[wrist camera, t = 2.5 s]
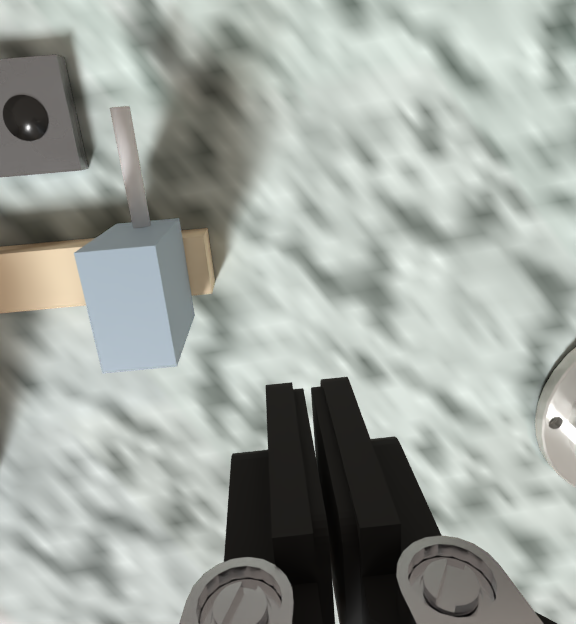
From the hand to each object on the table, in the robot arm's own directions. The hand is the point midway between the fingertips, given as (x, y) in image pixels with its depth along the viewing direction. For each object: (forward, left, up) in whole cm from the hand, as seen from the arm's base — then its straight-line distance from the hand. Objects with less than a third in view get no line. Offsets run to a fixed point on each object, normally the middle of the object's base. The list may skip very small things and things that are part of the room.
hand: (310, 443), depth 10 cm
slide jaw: (+6, -2, -15) cm, 17 cm away
